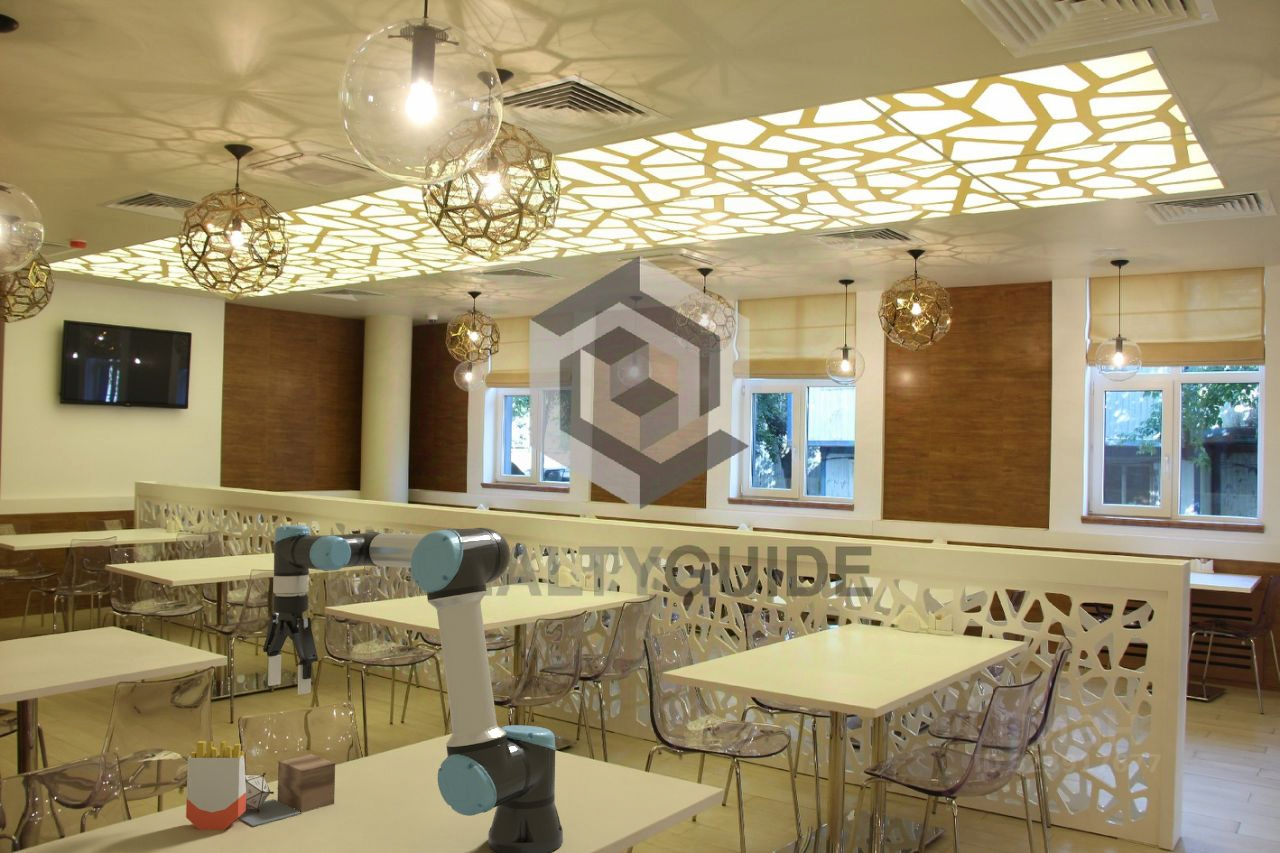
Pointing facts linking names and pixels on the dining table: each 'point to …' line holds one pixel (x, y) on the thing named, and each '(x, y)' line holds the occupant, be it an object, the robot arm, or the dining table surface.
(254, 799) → the game die
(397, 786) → the dining table surface
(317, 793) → the cardboard box
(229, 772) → the french fries container
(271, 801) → the mat
